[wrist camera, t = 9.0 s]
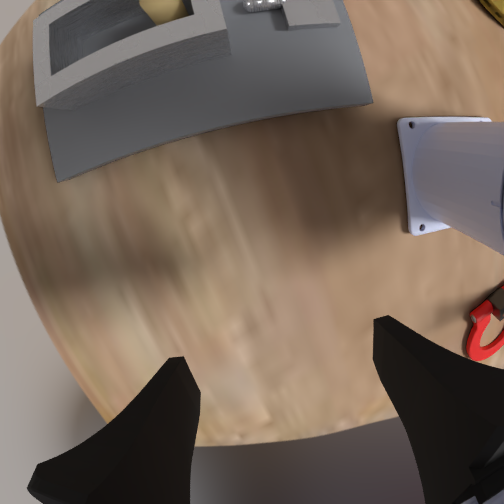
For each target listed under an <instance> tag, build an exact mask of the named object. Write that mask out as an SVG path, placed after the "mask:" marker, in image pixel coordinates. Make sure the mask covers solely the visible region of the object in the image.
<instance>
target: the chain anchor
mask: <svg viewBox="0 0 504 504" xmlns="http://www.w3.org/2000/svg"><path fill="white" fill-rule="evenodd" d="M243 7H244V9H245V10H247V11H249V12H256V11H263V10H271V9H281V12H282V15H283V18H284V21H285V24H286V28H287V31H293V30H304V29H318V28H337V27H338V26H339V25H340V24H341V22H340V19H339V16H338V13H337V10H336V8H335V5H334V2H333V0H244V2H243Z"/></svg>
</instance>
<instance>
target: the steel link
mask: <svg viewBox="0 0 504 504" xmlns="http://www.w3.org/2000/svg"><path fill="white" fill-rule="evenodd" d="M182 1H184V0H182ZM191 3H192V7H193V11H194V15H191V16H188V17H184V18H181V19H177V20H174V21H171V22H168V23H165V24H162V25H159V26H156V27H153V28H150V29H147V30H145V31H142V32H139V33H137V34H134V35H132V36H129V37H127V38H125V39H122V40H120V41H118V42H115V43H113V44H111V45H109V46H106V47H104V48H102V49H100V50H98V51H96V52H94V53H92V54H90V55H88V56H86V57H84V50H83V41H84V40H86V39H88V38H90V37H92V36H94V35H96V34H98V33H100V32H102V31H104V30H106V29H108V28H111V27H113V26H115V25H117V24H120V23H122V22H124V21H127V20H129V19H132V18H134V17H137V16H139V15H142V14H144V13H146V12H145V11H144V10H143V8H142V7H141V6H140V3H139V0H64V1H62V2H60V3H59V4H57V5H56V6H54V7H52V8H51V9H49V10H48V11H46V12H45V13H43V14H42V15H40V16H39V17H38V18H36V19H35V20H33V68H34V84H35V95H36V104H37V107H47V108H56V109H64V110H72V111H76V110H78V109H80V108H82V107H84V106H86V105H88V104H90V103H92V102H95V101H97V100H99V99H101V98H103V97H106V96H108V95H110V94H112V93H115V92H117V91H119V90H122V89H124V88H127V87H129V86H132V85H134V84H137V83H140V82H142V81H145V80H148V79H151V78H153V77H156V76H159V75H162V74H165V73H168V72H171V71H175V70H178V69H181V68H185V67H188V66H192V65H195V64H199V63H203V62H206V61H210V60H214V59H219V58H223V57H227V56H232V53H231V48H230V42H229V37H228V32H227V28H226V24H225V20H224V16H223V12H222V8H221V5H220V1H219V0H191Z"/></svg>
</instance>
